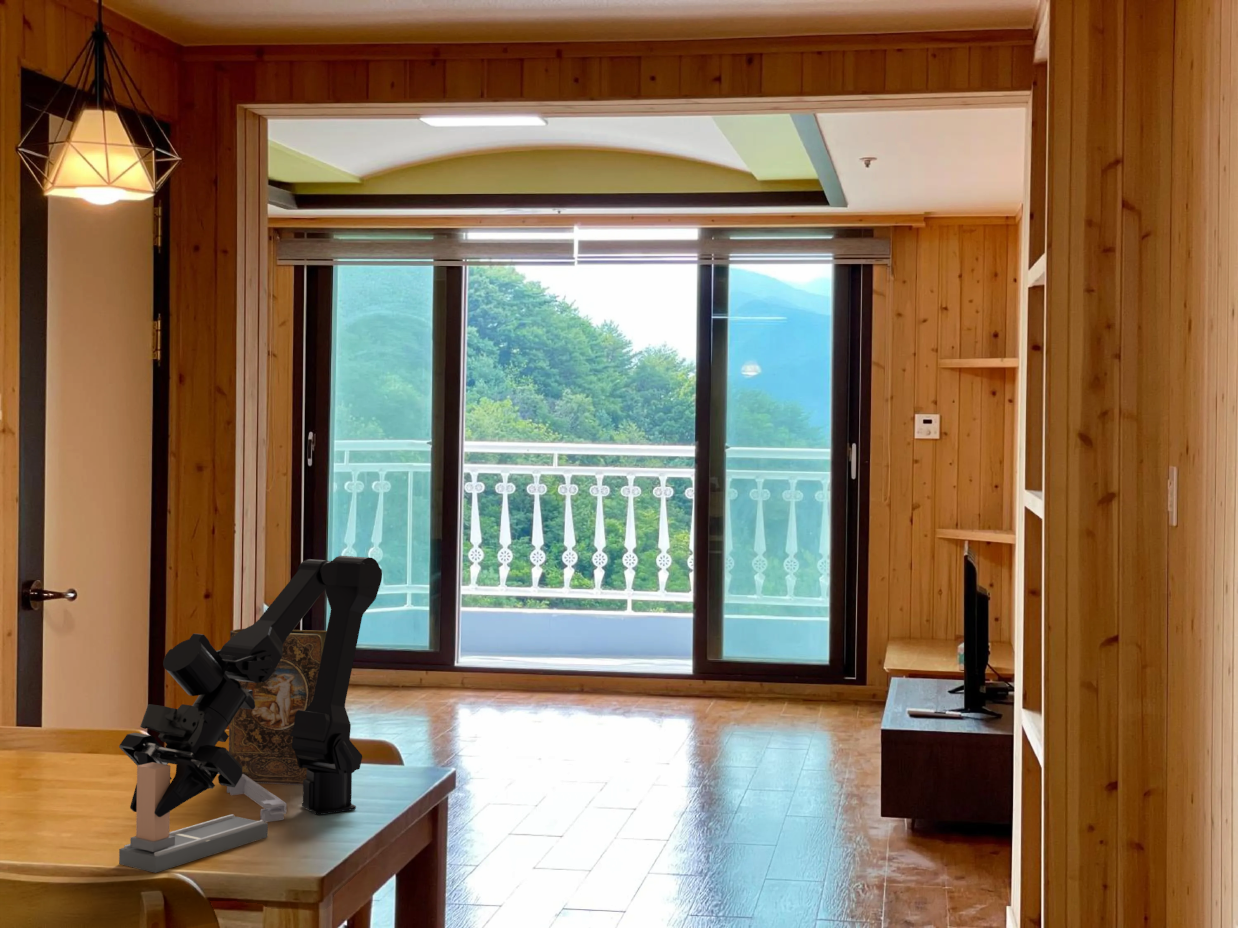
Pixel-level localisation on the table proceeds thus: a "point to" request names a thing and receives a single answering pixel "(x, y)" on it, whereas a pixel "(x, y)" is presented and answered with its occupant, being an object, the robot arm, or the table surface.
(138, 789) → the fader
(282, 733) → the book
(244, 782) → the door handle
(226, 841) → the grey slider rail base
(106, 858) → the table surface
